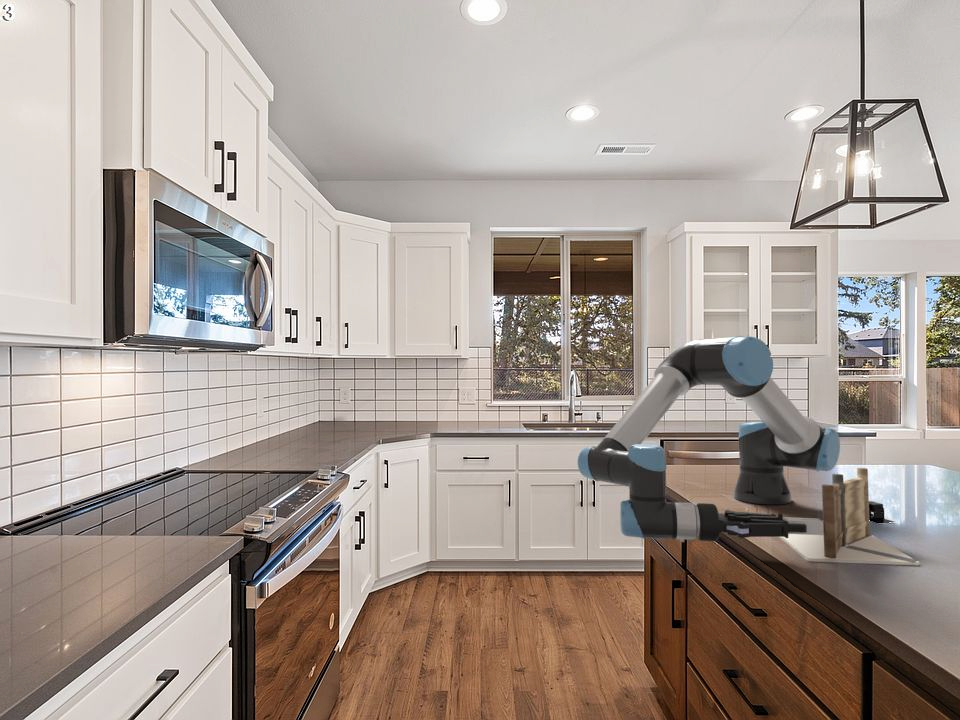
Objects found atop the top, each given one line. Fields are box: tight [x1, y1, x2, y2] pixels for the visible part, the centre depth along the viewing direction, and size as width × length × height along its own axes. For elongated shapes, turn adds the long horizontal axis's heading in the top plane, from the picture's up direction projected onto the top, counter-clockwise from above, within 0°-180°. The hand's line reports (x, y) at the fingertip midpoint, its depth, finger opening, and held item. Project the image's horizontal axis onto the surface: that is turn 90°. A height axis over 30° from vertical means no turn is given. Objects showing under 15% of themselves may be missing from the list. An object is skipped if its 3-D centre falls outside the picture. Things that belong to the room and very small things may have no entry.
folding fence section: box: [821, 482, 843, 558], centre depth 116 cm, size 11×2×14 cm, turn 140°
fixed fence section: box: [831, 467, 871, 547], centre depth 125 cm, size 14×2×15 cm, turn 125°
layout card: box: [778, 533, 921, 566], centre depth 122 cm, size 22×20×1 cm
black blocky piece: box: [869, 500, 895, 524], centre depth 145 cm, size 12×7×5 cm, turn 10°
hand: (820, 526), depth 114 cm, fingers closed
